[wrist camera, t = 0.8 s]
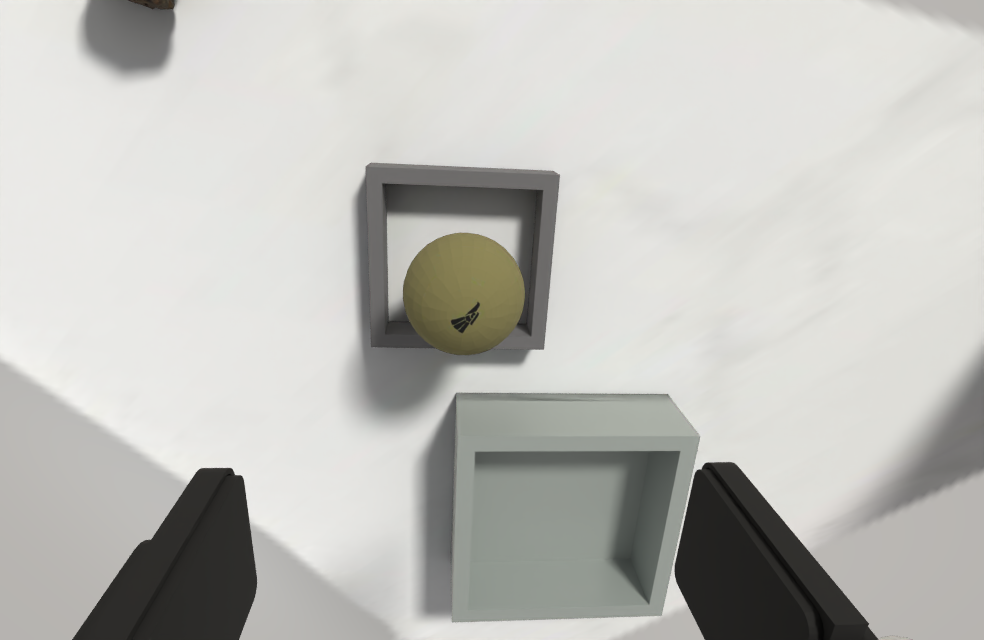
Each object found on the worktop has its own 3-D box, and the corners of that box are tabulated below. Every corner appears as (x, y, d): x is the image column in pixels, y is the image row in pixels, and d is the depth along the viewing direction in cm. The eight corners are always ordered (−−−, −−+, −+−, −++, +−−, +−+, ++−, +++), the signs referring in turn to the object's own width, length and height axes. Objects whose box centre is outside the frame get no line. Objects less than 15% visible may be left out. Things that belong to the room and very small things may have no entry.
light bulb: (485, 314, 33) (500, 393, 24) (398, 280, 32) (378, 351, 23) (523, 230, 32) (555, 280, 22) (432, 191, 31) (427, 228, 21)
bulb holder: (552, 170, 31) (560, 175, 29) (538, 336, 34) (543, 349, 32) (370, 162, 30) (365, 166, 28) (375, 333, 33) (371, 347, 31)
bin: (667, 394, 36) (700, 436, 32) (637, 558, 41) (661, 615, 37) (456, 393, 35) (457, 436, 30) (451, 562, 40) (451, 622, 35)
